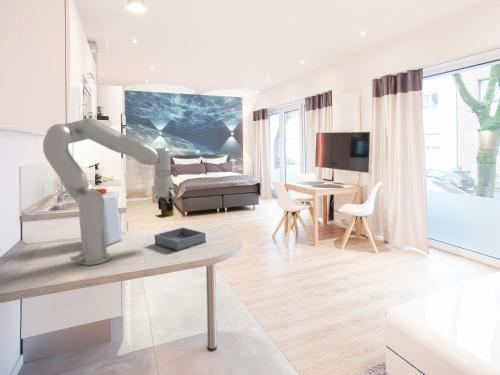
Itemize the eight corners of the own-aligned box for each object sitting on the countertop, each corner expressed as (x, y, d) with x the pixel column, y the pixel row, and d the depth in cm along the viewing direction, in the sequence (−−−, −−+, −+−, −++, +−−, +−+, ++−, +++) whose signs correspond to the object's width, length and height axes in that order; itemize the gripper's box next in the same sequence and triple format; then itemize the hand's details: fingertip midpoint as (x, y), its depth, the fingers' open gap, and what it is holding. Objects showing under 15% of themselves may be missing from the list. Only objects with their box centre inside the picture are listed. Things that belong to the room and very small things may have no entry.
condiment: (177, 215, 157) (175, 191, 155) (161, 218, 151) (159, 193, 149) (169, 213, 162) (167, 190, 160) (154, 216, 156) (152, 192, 154)
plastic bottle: (81, 245, 160) (76, 190, 157) (103, 236, 175) (99, 186, 171) (104, 247, 156) (100, 191, 152) (125, 239, 170) (122, 187, 166)
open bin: (177, 251, 149) (176, 241, 148) (155, 244, 160) (154, 234, 159) (205, 242, 162) (205, 232, 162) (183, 236, 174) (182, 227, 173)
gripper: (146, 173, 156) (149, 209, 158) (167, 175, 145) (170, 213, 148) (159, 172, 161) (161, 206, 164) (180, 173, 151) (183, 210, 153)
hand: (165, 209), depth 156 cm, fingers closed on condiment, 6 cm apart
